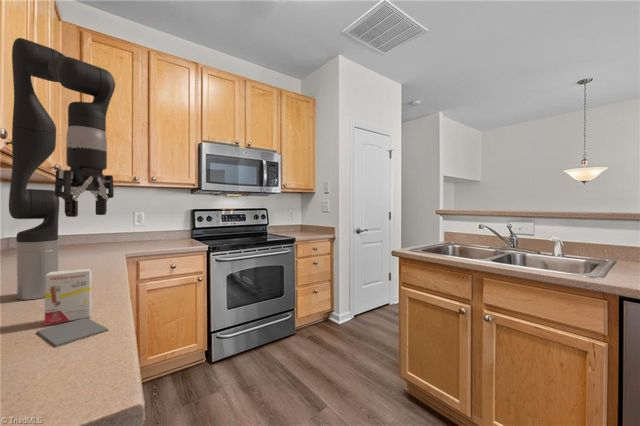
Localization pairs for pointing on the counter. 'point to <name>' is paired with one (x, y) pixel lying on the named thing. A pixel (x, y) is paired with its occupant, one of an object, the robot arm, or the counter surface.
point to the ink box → (67, 295)
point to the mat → (71, 331)
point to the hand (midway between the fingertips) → (87, 215)
